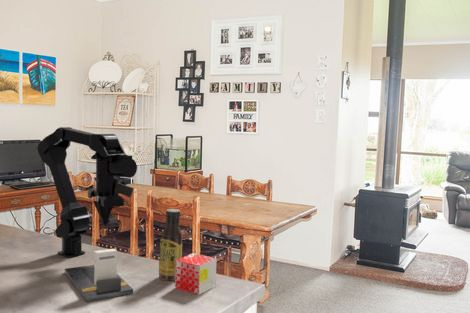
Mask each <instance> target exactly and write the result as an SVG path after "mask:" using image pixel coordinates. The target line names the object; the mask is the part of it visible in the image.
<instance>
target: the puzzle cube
mask: <svg viewBox="0 0 470 313" xmlns="http://www.w3.org/2000/svg"><path fill="white" fill-rule="evenodd" d="M174 281H175V285H174V287H175V289H178V290H179V291H180V290H181V291H184V292H186V293H187V292H188V293H191V294H195V295H201V294H203V293H205V292H207V291H209V290H210V289H212V288H214V287H216V284H217V258H216V257H212V256H207V255H203V254H200V253H194V252H193V253H190V254H188V255H184V256H182V258H180V259H177V260H176V280H174Z"/></svg>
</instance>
